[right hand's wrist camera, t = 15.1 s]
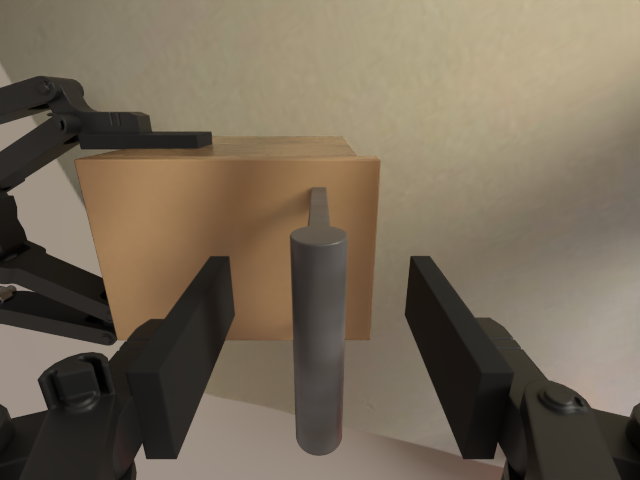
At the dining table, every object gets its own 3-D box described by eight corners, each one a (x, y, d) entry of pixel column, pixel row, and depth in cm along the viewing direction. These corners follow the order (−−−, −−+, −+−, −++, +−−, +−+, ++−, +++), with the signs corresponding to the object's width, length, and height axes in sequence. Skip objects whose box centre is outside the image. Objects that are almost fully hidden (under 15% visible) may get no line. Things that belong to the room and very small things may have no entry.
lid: (376, 156, 17) (431, 203, 9) (367, 327, 20) (399, 478, 12) (89, 156, 17) (-131, 203, 8) (128, 328, 20) (-3, 479, 12)
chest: (343, 136, 27) (358, 155, 17) (340, 251, 31) (351, 327, 20) (178, 136, 27) (89, 155, 17) (194, 251, 31) (128, 327, 20)
